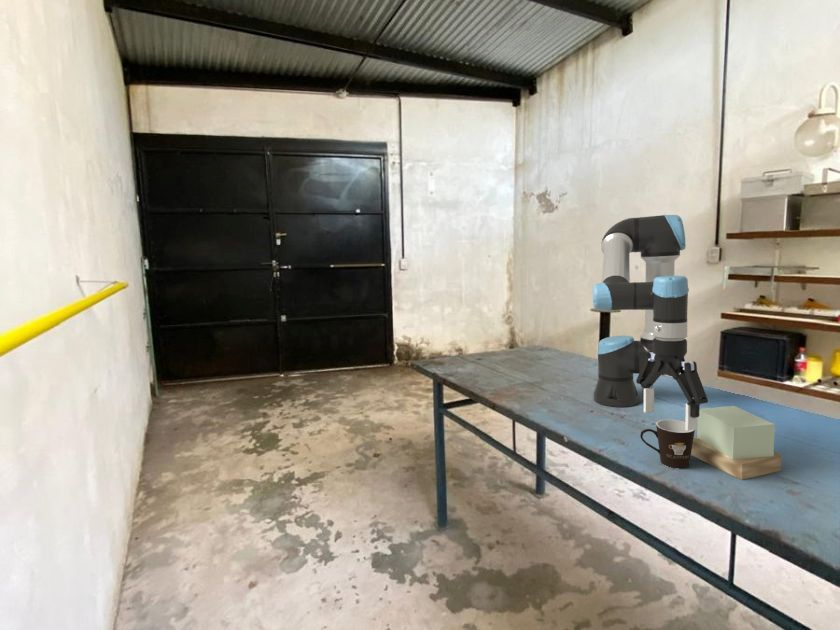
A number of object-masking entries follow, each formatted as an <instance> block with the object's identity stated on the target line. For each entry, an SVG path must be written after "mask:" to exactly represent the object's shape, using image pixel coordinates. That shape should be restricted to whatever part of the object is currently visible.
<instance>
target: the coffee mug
mask: <svg viewBox="0 0 840 630" xmlns="http://www.w3.org/2000/svg"><path fill="white" fill-rule="evenodd" d="M655 425H656V426H655V427H656V430H654V429H652V428H647V429H646V428H645V429H643V430H641V432H640V435H639V436H640V439H641V441H642V442H643V443H644V444H645V445H647V446H648V447H649V448H651V449H652V450H654V451H656V452H657V453H658V454H659V460H660V463H661V464H662V465H663V464H664V465H663V466H665V465H666V466H665V467H667V466H668V468H670V467H671V468H672V469H675V468H679V469H678V470H684V469H683V468H685V469H688V468H689V466H690V461H691V457H692V455H691V450H692V444H693V438H695V430H696V429H694V430H689V431H688V430H685V421H684V420H678V419H661V420H658V421H656V423H655ZM647 432H651V433H653V434H654V435H655V437H656V438H657V443H658V448H656V447H655V446H653V445H651V444H650V443H648V442H647V441H646V440H645V439H644V437H643V436H644V434H645V433H647Z"/></svg>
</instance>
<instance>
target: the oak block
mask: <svg viewBox="0 0 840 630" xmlns="http://www.w3.org/2000/svg"><path fill="white" fill-rule="evenodd" d="M692 456H693V457H694V458H696V459H698V460H701V461H702V462H705V463H706V464H708V465H711V466H712V467H715V468H717V469H718V470H720V471H723V472H724V473H727V474H729V475H731V476H733V477H735V478H737V479H739V480H741V481H743V480H748V479H753V478H756V477H760V476H764V475H768V474H773V473H776V472H781V471H782V454H780V453H777V452H775V451H774V456H771V457H759V458H747V459H735V460H733V459H731V458H729V457H728V456H726V455H725V454H723V453H721V452H720V451H718V450H716V449H715V448H713V447H712V446H710V445H708V444H707V443H705V442H703V441H702V440H700V439H699V438H697V437H694V438H693V444H692V450H691V457H692Z"/></svg>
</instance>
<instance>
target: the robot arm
mask: <svg viewBox="0 0 840 630" xmlns="http://www.w3.org/2000/svg"><path fill="white" fill-rule="evenodd" d="M600 243H601V244H600V245H601V246H600V248H601V252H602V254H603V262H602V275H601V283H595V284H594V285H593V286H592V287H593V288H592V303H593V304H592V305H593V308H594V309H596V310H599V311H602V310H603V311H626V310H627V311H629V310H632V311H635V310H636V311H638V310H640V311H641V310H642V311H643V310H645V311H644V312H645V314H644V317H645V321H644V322H645V327H644V328H645V329H644V332H643V333H641V334H640V336H639V339H640V340H635V338H634V336H631V335H613V336H608V337H605V338H603V339H601V340H599V342H598V347H597V348H598V349H597V355H598V356H597V357H598V360H597V361H598V362H597V364H598V366H597V371H598V372H597V374H598V375H597V376H598V377H597V382H596V384H595V389H594V391H593V393H592V394H593V397H592V399H593V401H594V402H596V403H597V404H599V405H603V406H607V407H613V408H615V407H616V408H624V407H625V408H627V407H633V406H636V405H638V404H639V402H640V395H639V393H638V389H637V387H636V384H637V385H640V386H641V388H642V391H641V392H642V399H643V413H645V414H647V413H653V412H655V388H654V384H655V383H656V382H657V380H659V378H660V377H661V376H663V377H664V376H669V377H672V378H673V380H675V381H676V382H677V384H678V386H679V388H680V389H681V391H682V393H683V395H684V397H685V398H686V400H687V402H686V403H685V419H684V420H685V421H684V422H685V430H688V431H689V430H694V429H695V430H697V420H698V417H699V409H701V407H700V405H703V404H708V403H709V400H708V397H707V394H706V392H705V389H704V386H703V384H702V380H701V378H700V376H699V373H698V367H697V366H698V365H697V362H696V361H686V360H685V359H686V358H685V356H686V355H687V353H688V340H687V339H686V338H687V337H688V305H689V303H688V300H689V291H690V290H689V289H690V288H689V282H688V278H687V277H686V276H685V275H675V267H676V266H675V265H676V264H675V261H676V260H677V259H678V258H679V257H680V256H681V251H684V250H685V249H686V233H685V227H684V222H683V219H682V218H681V216H680V215H677V214H661V215H652V216H650V215H649V216H639V217H629V218H626V219H625V218H624V219H623V220H620V221H618V222H617V223H615V224H614V225H612V226H611V227H610V228H609V229H608V230H607V231H606V232H605V234H604V235H603V238H602V241H601V242H600ZM631 253H640V258H641V259H642V260H643V261H644V262H645V281H644V282H643V281H642V282H641V281H640V282H632V281H630V279H631V278H630V276H631V275H630V274H631V273H630V272H631V271H630V269H631V268H630V266H631V265H630V254H631ZM634 374H635V375H636V374H637V375H638V376H637V378H636V380H635V381H634ZM635 382H636V384H635Z"/></svg>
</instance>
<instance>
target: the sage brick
mask: <svg viewBox="0 0 840 630" xmlns="http://www.w3.org/2000/svg"><path fill="white" fill-rule="evenodd" d="M775 428H776V423H773V422H770V421H768V420H766V419H764V418H762V417H759V416H757V415H755V414H752V413H751V412H748V411H746V410H744V409H742V408H740V407H737V406H735V405H731V406H719V407H718V406H717V407H706V408H705V407H702V408H700V409H699V417H697V429H696V431H697V432H696V438H699V439H700V440H702V441H703V442H705V443H707V444H708V445H710V446H712V447H713V448H715V449H716V450H718V451H720V452H721V453H723V454H725V455H726V456H728V457H729V458H731V459H733V460H735V459H747V458H759V457H771V456H774V452H775V451H774V450H775V434H776V432H775V431H776V430H775Z"/></svg>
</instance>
